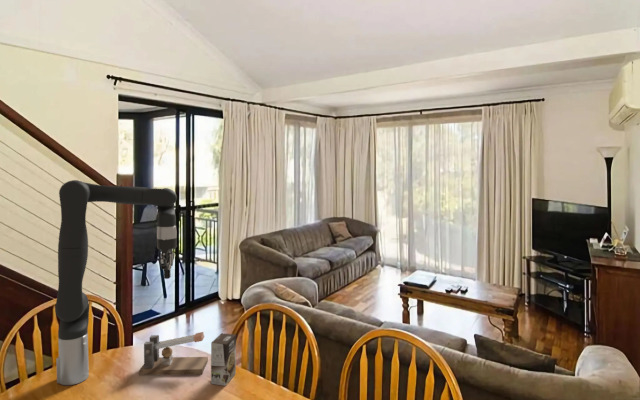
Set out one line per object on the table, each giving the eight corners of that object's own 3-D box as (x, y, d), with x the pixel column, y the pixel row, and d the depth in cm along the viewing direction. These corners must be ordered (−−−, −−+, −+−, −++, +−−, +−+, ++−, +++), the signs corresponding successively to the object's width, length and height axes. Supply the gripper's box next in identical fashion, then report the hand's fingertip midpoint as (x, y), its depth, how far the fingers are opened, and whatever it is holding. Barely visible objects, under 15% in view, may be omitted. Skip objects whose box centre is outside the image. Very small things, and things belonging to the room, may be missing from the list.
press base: (139, 375, 147) (138, 345, 146) (148, 362, 157) (148, 334, 156) (202, 374, 149) (202, 344, 148) (207, 361, 159) (207, 333, 158)
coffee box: (226, 386, 141) (226, 344, 140) (210, 384, 142) (210, 342, 141) (236, 373, 150) (236, 334, 148) (221, 371, 151) (221, 332, 150)
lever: (148, 351, 150) (146, 346, 150) (151, 347, 153) (150, 342, 153) (202, 340, 151) (201, 335, 151) (204, 336, 154) (203, 331, 154)
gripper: (163, 234, 162) (163, 273, 163) (151, 239, 149) (152, 282, 150) (181, 234, 162) (181, 273, 164) (171, 239, 149) (171, 282, 150)
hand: (167, 278), depth 157 cm, fingers closed
